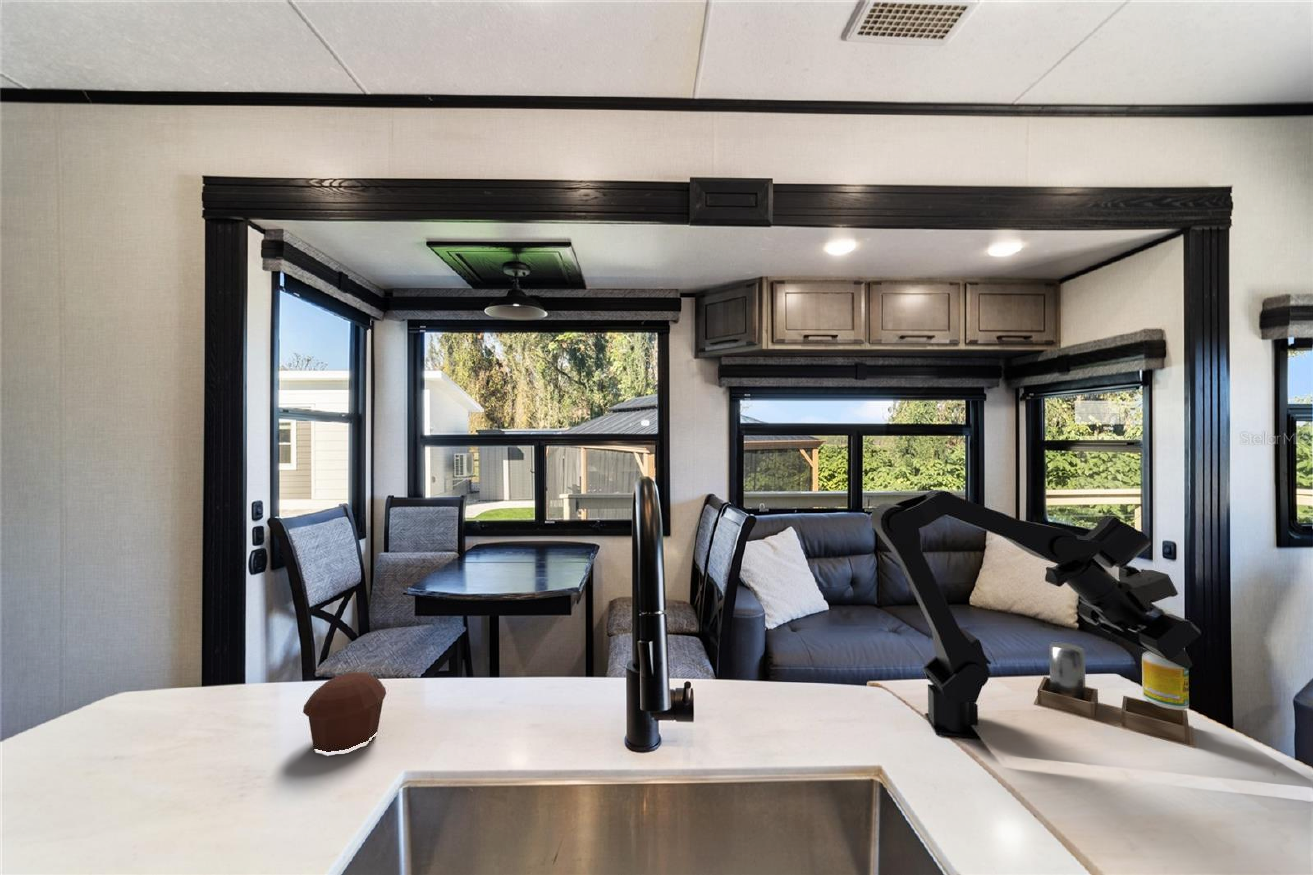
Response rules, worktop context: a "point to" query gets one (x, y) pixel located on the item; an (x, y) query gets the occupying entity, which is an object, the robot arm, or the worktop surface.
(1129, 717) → the wooden compartment tray
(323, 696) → the muffin
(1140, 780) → the worktop surface
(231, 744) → the worktop surface
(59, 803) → the worktop surface
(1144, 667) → the supplement bottle
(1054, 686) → the graphite billet
